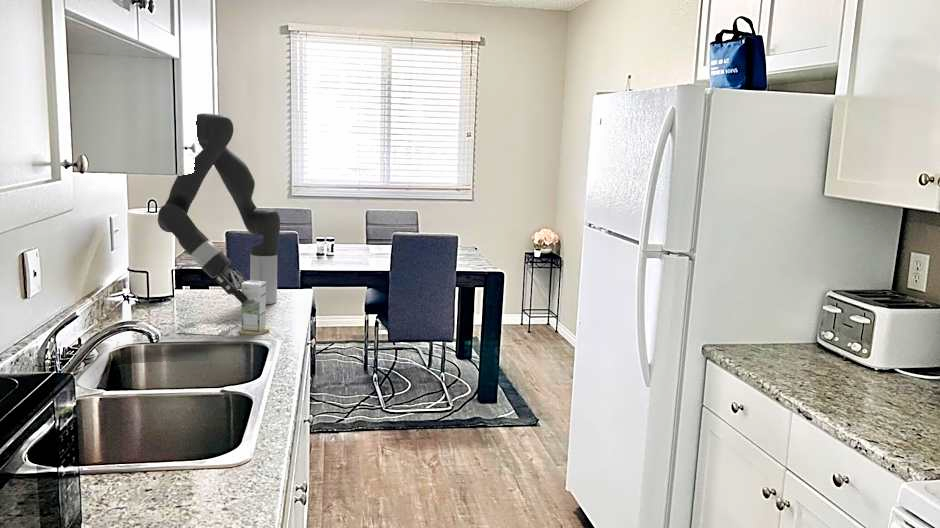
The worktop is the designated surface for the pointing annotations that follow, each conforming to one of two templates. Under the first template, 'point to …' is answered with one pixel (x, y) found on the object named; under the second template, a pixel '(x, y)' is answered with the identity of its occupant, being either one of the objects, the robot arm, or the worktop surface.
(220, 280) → the robot arm
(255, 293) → the syrup box
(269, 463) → the worktop surface
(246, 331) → the cork coaster
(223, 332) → the plaque
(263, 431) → the worktop surface
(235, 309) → the worktop surface
